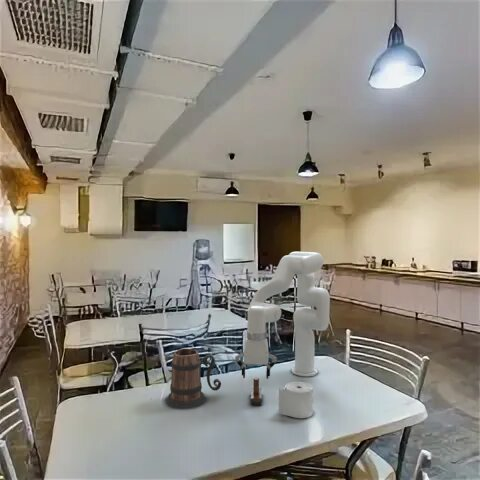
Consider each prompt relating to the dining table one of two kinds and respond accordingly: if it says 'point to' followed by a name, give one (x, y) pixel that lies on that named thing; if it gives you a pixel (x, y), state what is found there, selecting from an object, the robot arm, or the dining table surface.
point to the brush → (256, 392)
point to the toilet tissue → (296, 400)
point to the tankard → (188, 379)
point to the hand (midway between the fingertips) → (255, 377)
